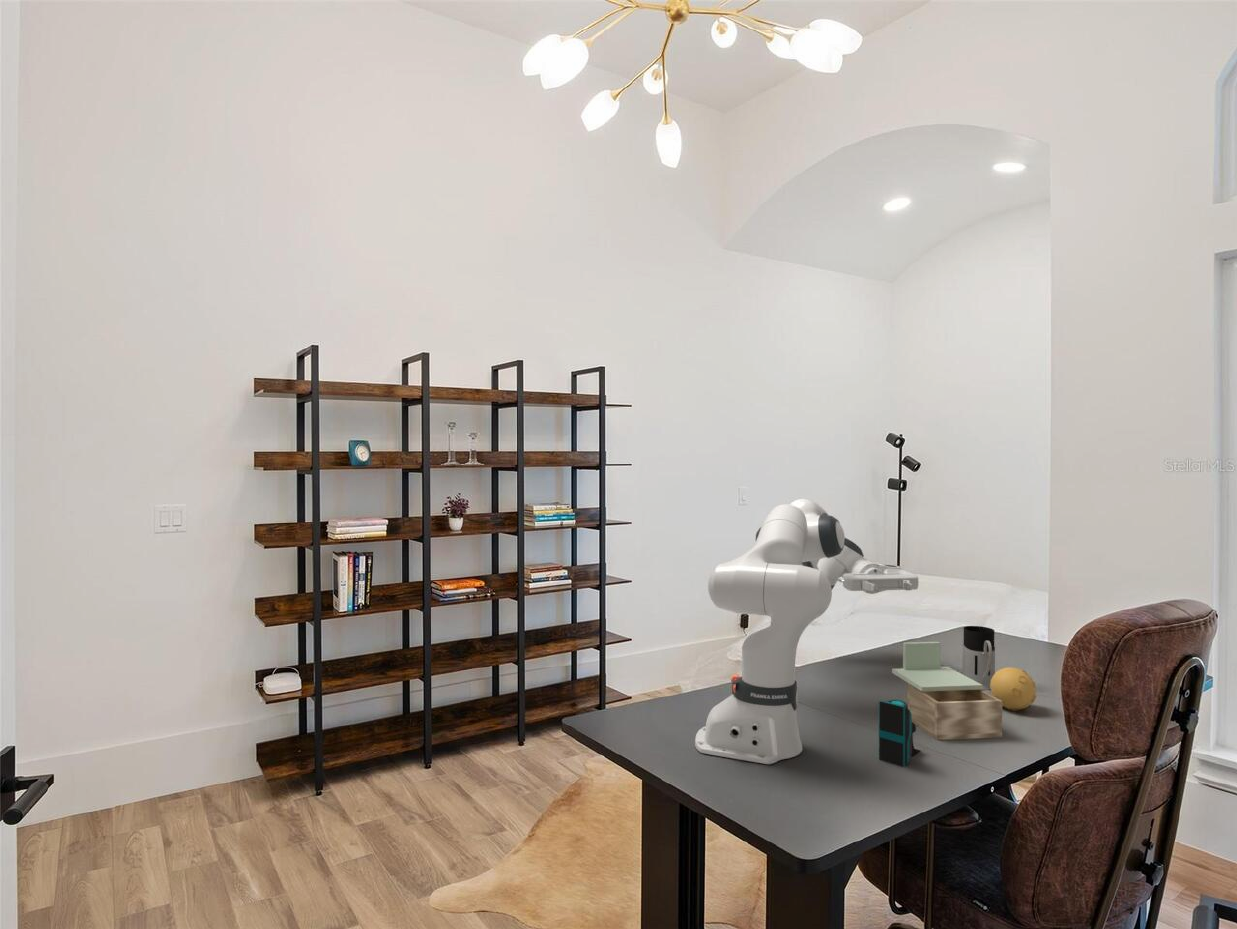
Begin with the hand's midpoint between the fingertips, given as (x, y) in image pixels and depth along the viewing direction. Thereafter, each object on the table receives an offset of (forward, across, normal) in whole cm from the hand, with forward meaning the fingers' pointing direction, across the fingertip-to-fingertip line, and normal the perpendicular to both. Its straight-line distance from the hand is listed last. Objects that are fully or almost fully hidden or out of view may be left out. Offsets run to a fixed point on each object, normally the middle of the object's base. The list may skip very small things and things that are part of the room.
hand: (892, 587), depth 196 cm
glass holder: (+5, +23, +26) cm, 35 cm away
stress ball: (+21, +21, +26) cm, 39 cm away
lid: (+23, 0, +17) cm, 29 cm away
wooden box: (+31, 0, +25) cm, 40 cm away
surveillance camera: (+45, -19, +25) cm, 55 cm away
